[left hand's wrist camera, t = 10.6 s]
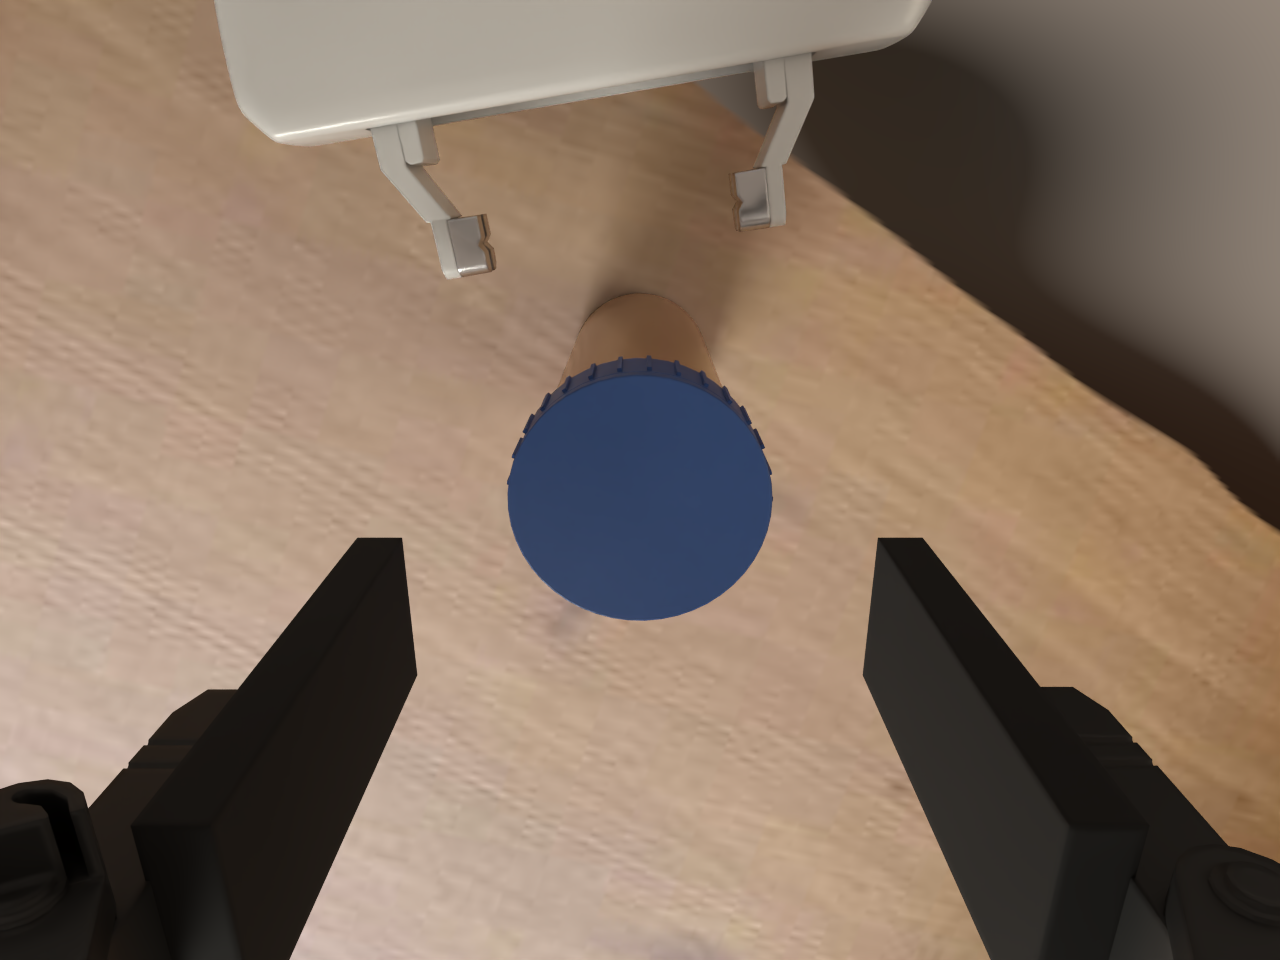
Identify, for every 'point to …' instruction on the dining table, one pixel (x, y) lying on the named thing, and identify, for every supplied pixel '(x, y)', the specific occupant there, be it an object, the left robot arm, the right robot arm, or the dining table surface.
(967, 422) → the dining table surface
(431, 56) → the right robot arm
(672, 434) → the lid
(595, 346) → the jar
